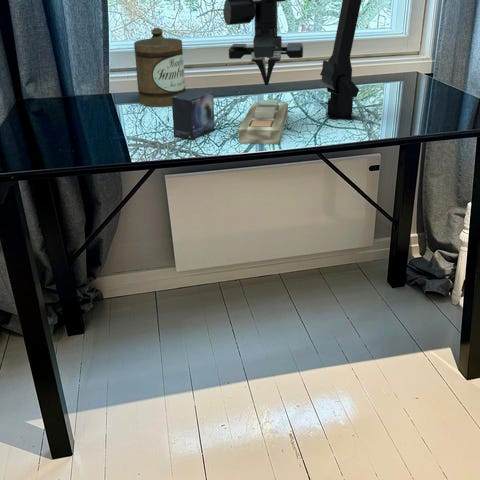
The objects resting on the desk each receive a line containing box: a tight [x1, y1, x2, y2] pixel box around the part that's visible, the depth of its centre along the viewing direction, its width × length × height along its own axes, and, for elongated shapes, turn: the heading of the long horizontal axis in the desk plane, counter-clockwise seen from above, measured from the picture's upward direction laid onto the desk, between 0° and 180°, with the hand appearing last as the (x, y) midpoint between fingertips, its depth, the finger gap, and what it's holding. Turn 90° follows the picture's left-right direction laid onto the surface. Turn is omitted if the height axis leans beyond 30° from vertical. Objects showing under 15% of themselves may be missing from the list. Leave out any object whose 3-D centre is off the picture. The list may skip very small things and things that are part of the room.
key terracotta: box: [251, 120, 272, 127], centre depth 143 cm, size 5×5×2 cm
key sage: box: [258, 99, 279, 111], centre depth 156 cm, size 5×5×2 cm
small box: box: [171, 88, 215, 140], centre depth 146 cm, size 11×6×10 cm, turn 148°
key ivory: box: [254, 107, 275, 119], centre depth 149 cm, size 5×5×2 cm
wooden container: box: [133, 27, 187, 108], centre depth 174 cm, size 15×15×22 cm
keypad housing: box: [238, 101, 289, 145], centre depth 150 cm, size 10×26×4 cm, turn 171°
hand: (266, 84), depth 147 cm, fingers closed
